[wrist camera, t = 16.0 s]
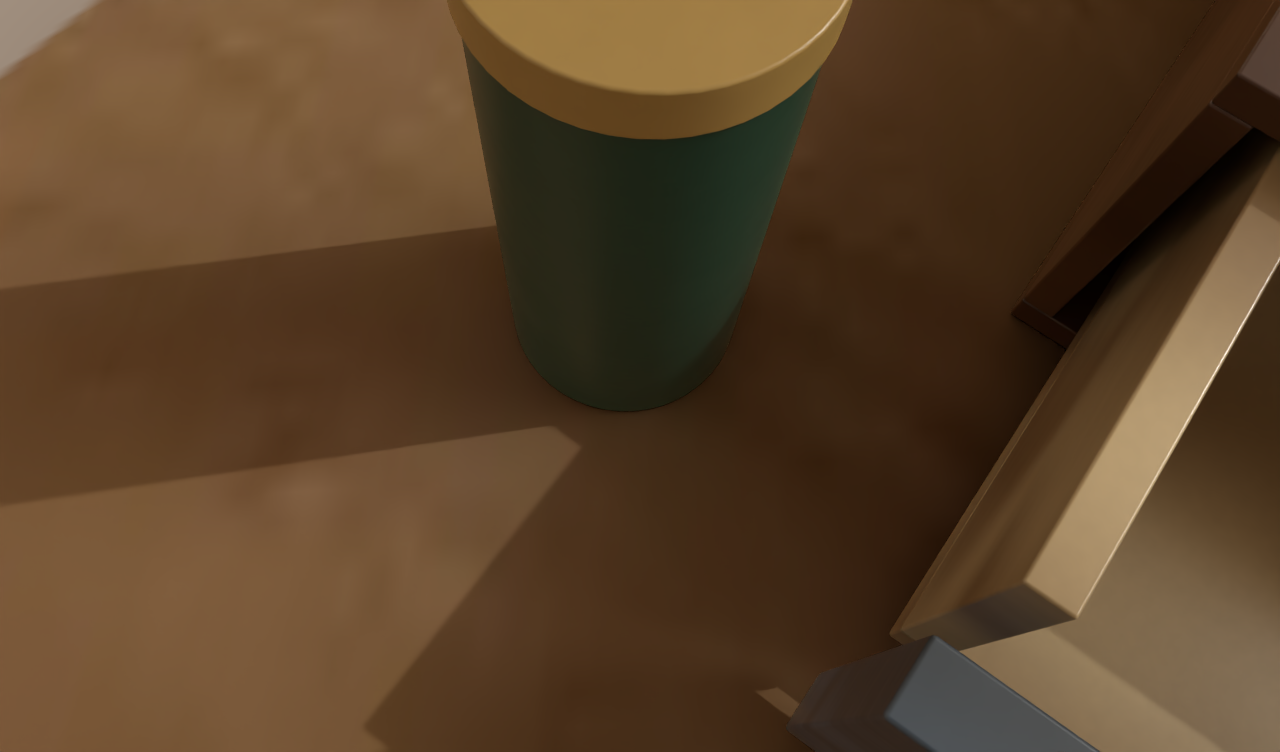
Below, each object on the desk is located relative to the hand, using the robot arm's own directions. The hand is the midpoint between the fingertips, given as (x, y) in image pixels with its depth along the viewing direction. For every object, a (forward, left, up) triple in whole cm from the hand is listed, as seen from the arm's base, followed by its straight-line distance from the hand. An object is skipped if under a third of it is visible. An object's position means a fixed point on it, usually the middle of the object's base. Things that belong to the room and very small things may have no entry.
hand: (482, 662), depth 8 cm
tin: (+6, +5, -12) cm, 14 cm away
